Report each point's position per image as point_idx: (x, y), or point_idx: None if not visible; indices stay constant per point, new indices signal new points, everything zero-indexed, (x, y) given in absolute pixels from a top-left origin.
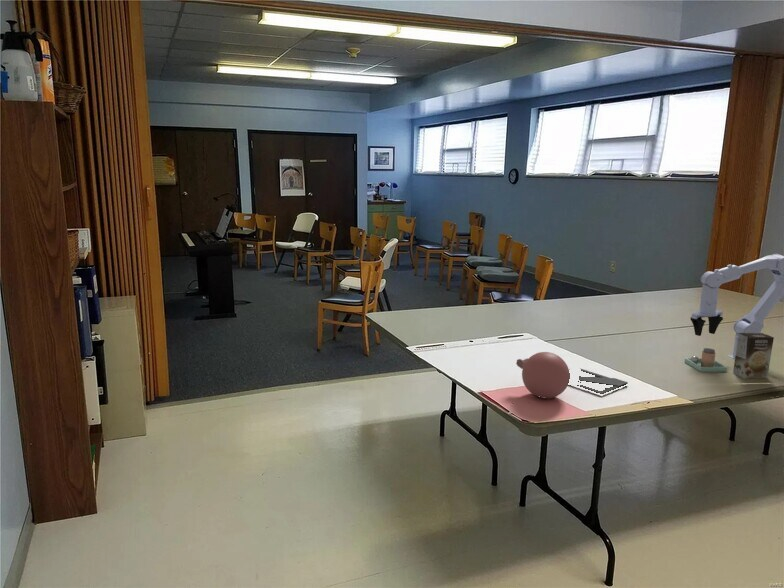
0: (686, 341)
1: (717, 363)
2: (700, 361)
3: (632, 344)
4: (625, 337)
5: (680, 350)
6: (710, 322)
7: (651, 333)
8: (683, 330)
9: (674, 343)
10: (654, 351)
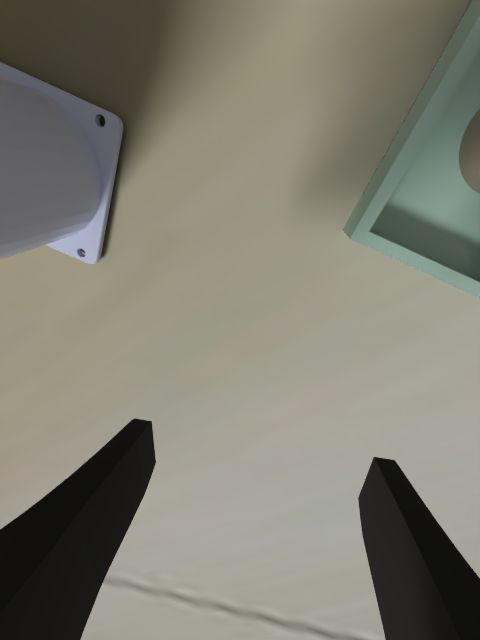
0: None
1: (450, 92)
2: (424, 254)
3: None
4: (309, 604)
5: (261, 441)
6: (74, 623)
7: (167, 577)
8: None
9: (189, 496)
10: None
